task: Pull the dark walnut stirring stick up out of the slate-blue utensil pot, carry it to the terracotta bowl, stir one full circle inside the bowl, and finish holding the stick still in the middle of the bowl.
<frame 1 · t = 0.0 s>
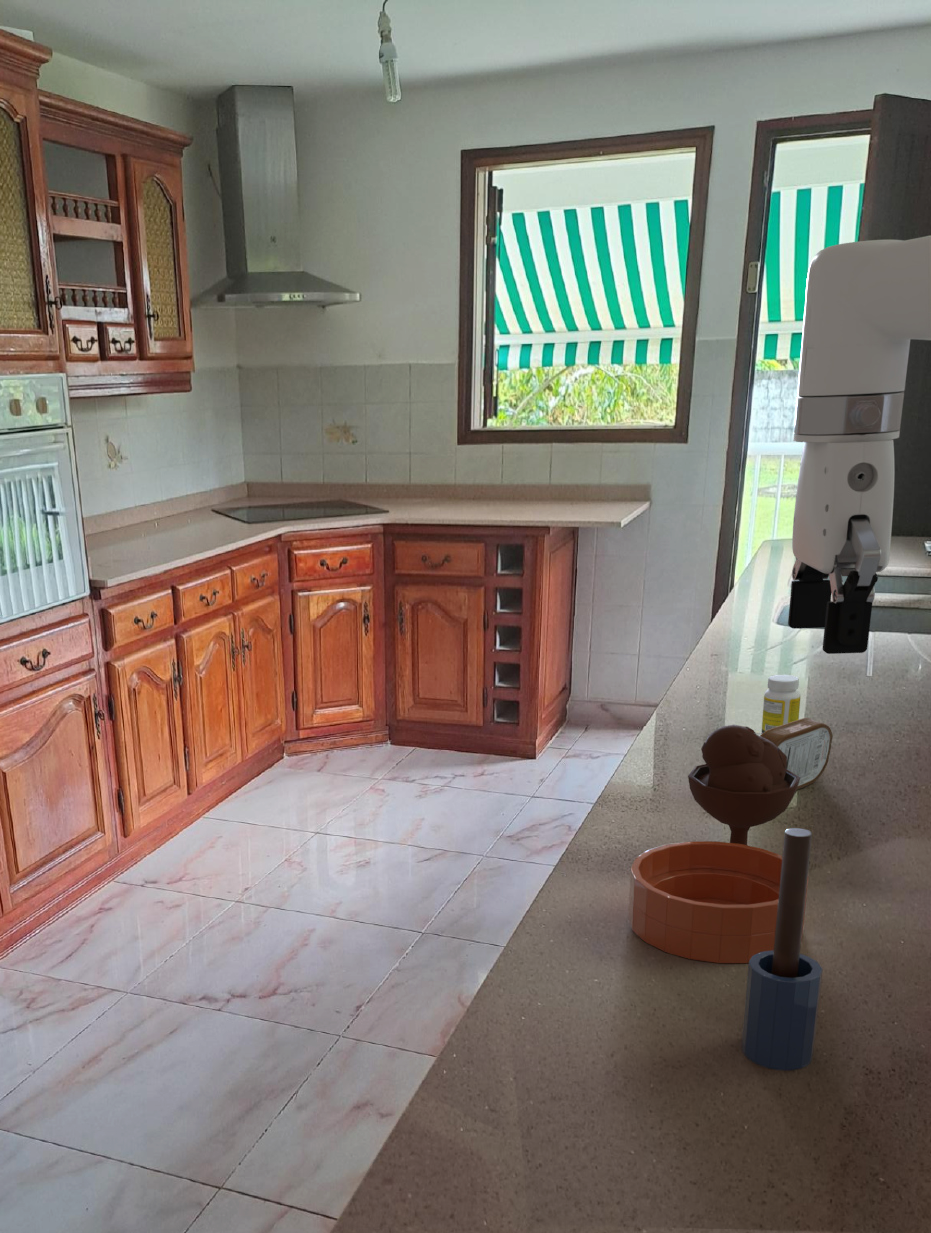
hand: (825, 639, 95), 28 cm above the counter, tool pointing down, fingers open, 9 cm apart
tin: (786, 791, 144), on the counter
ice cream bowl: (736, 861, 124), on the counter
supplement bottle: (778, 737, 164), on the counter
stirring stick: (776, 1051, 88), point 1 cm above the counter, touching utensil pot
mixing bowl: (713, 930, 109), on the counter
utensil pot: (776, 1058, 89), on the counter
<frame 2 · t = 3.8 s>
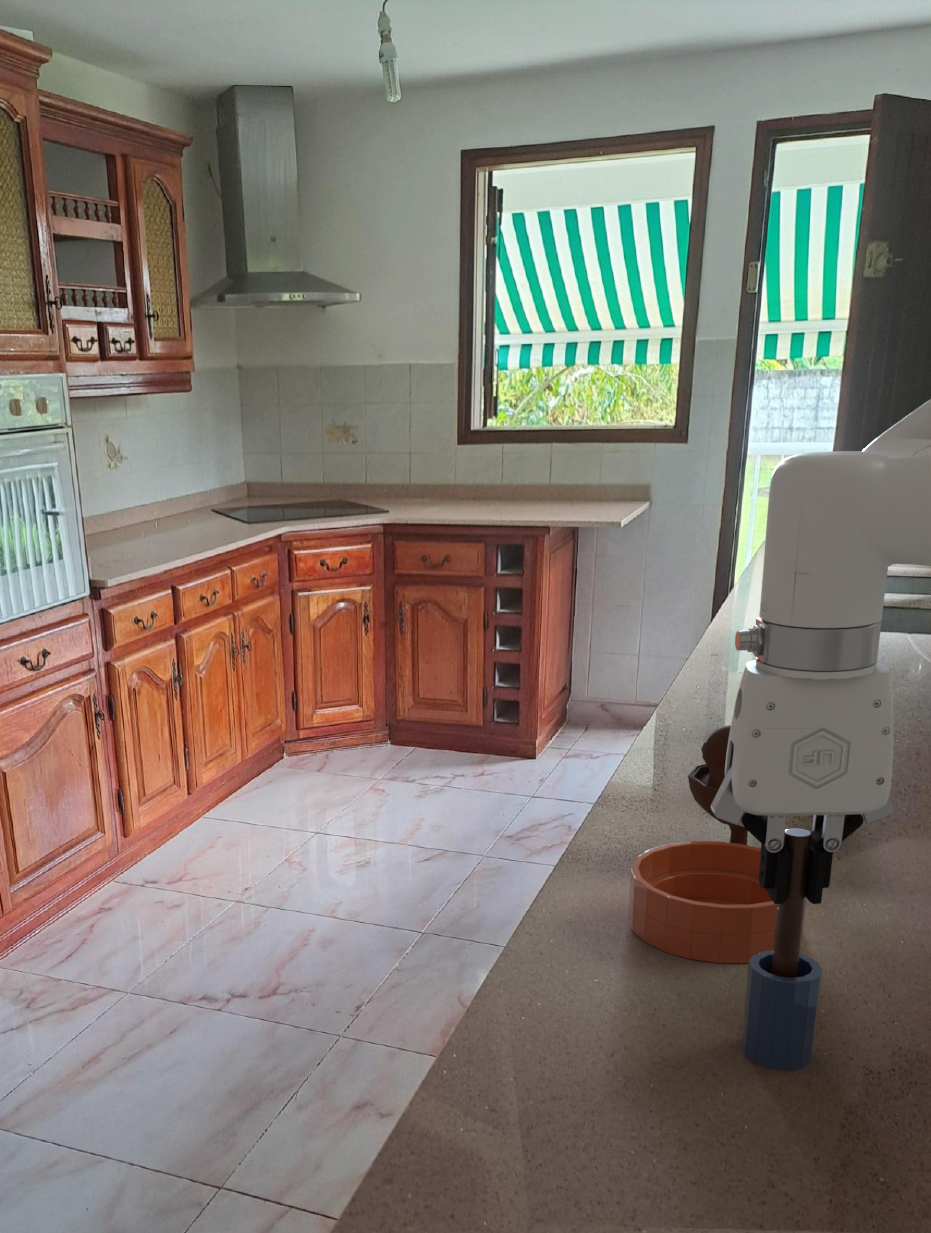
hand: (792, 894, 84), 14 cm above the counter, tool pointing down, fingers closed on stirring stick, 1 cm apart
stirring stick: (776, 1051, 88), point 1 cm above the counter, touching gripper, utensil pot
everything else where it was.
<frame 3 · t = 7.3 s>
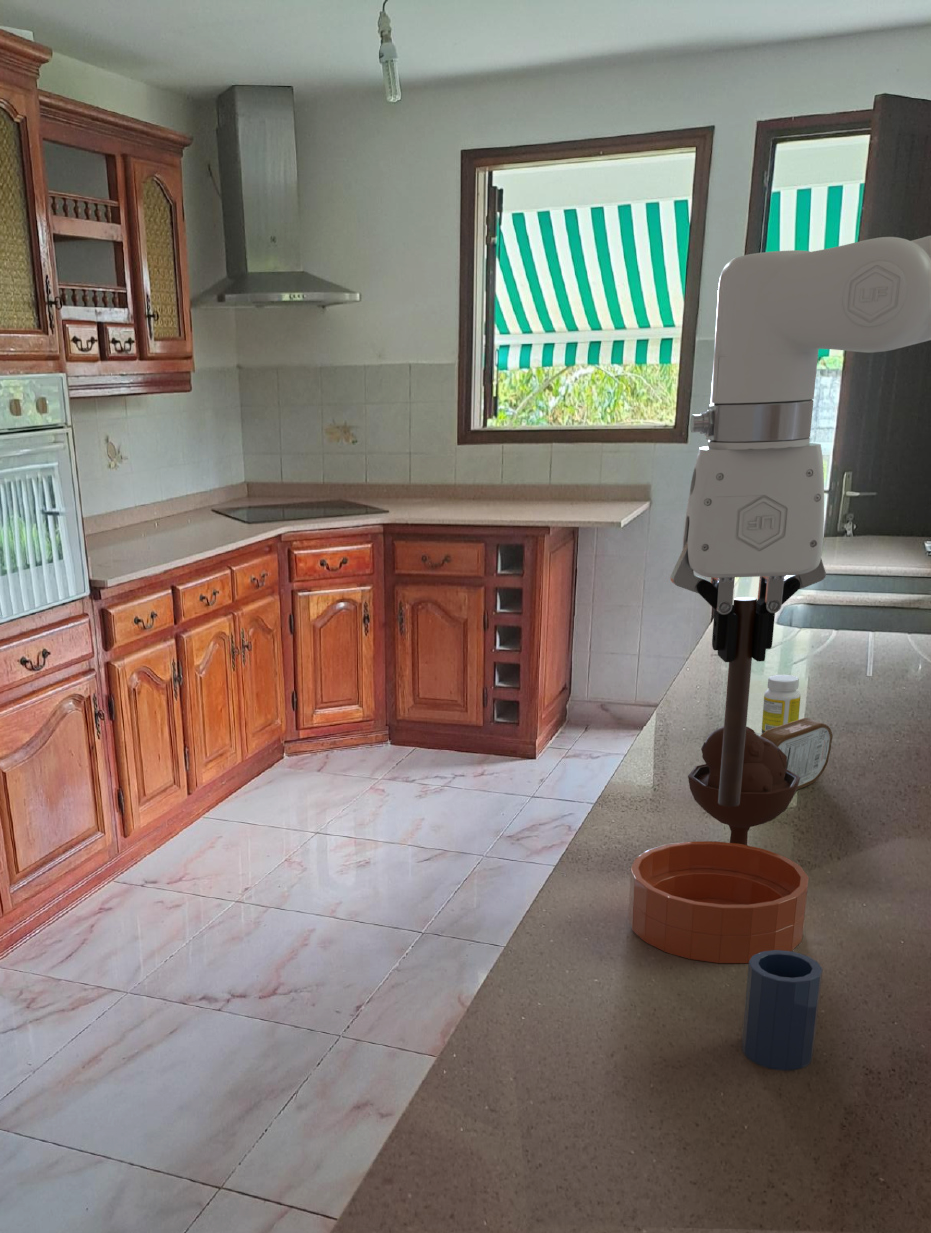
hand: (740, 656, 97), 27 cm above the counter, tool pointing down, fingers closed on stirring stick
stirring stick: (728, 803, 102), point 14 cm above the counter, touching gripper
everything else where it was.
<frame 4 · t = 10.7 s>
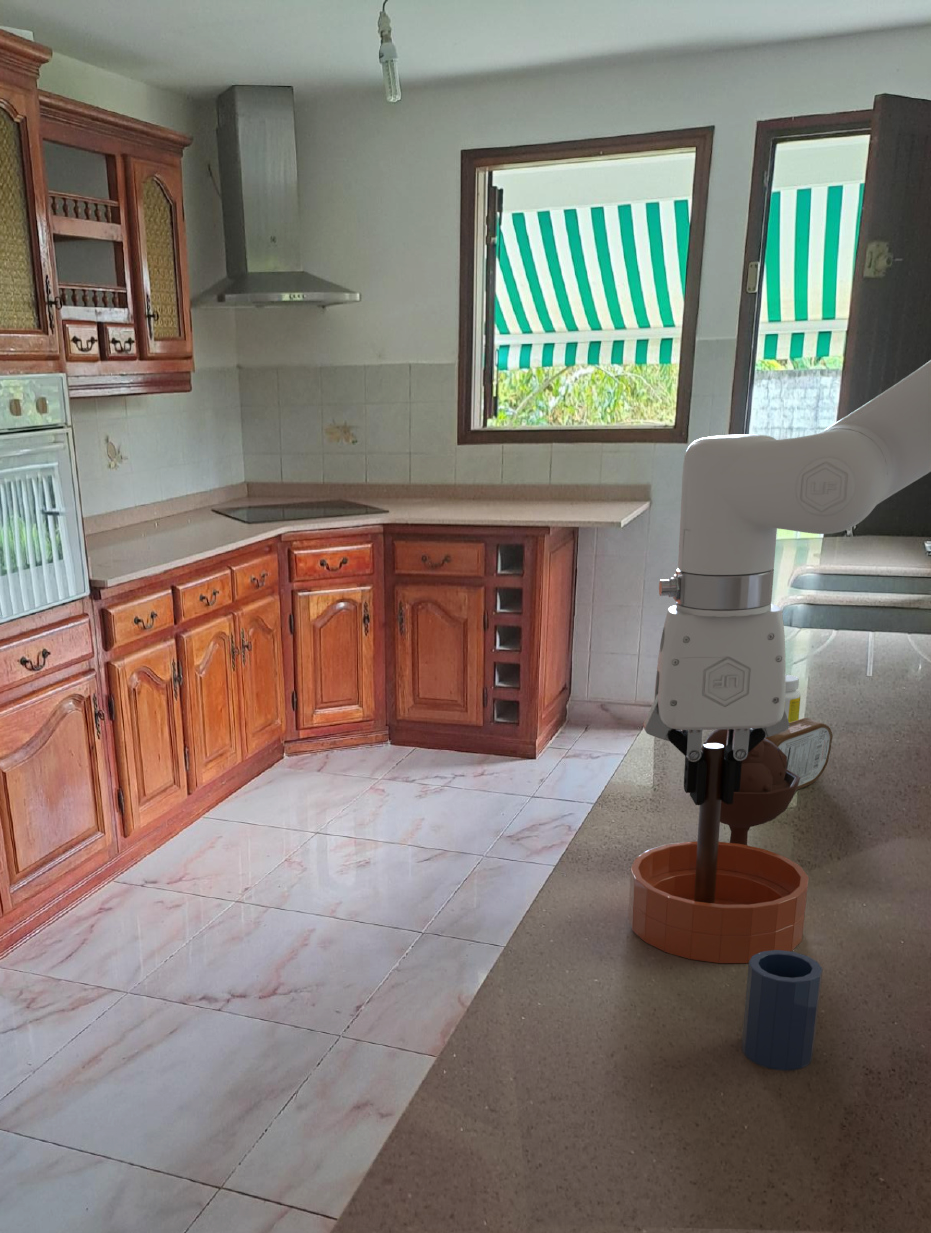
hand: (710, 798, 103), 14 cm above the counter, tool pointing down, fingers closed on stirring stick, 1 cm apart
stirring stick: (702, 931, 107), point 1 cm above the counter, touching gripper
everything else where it was.
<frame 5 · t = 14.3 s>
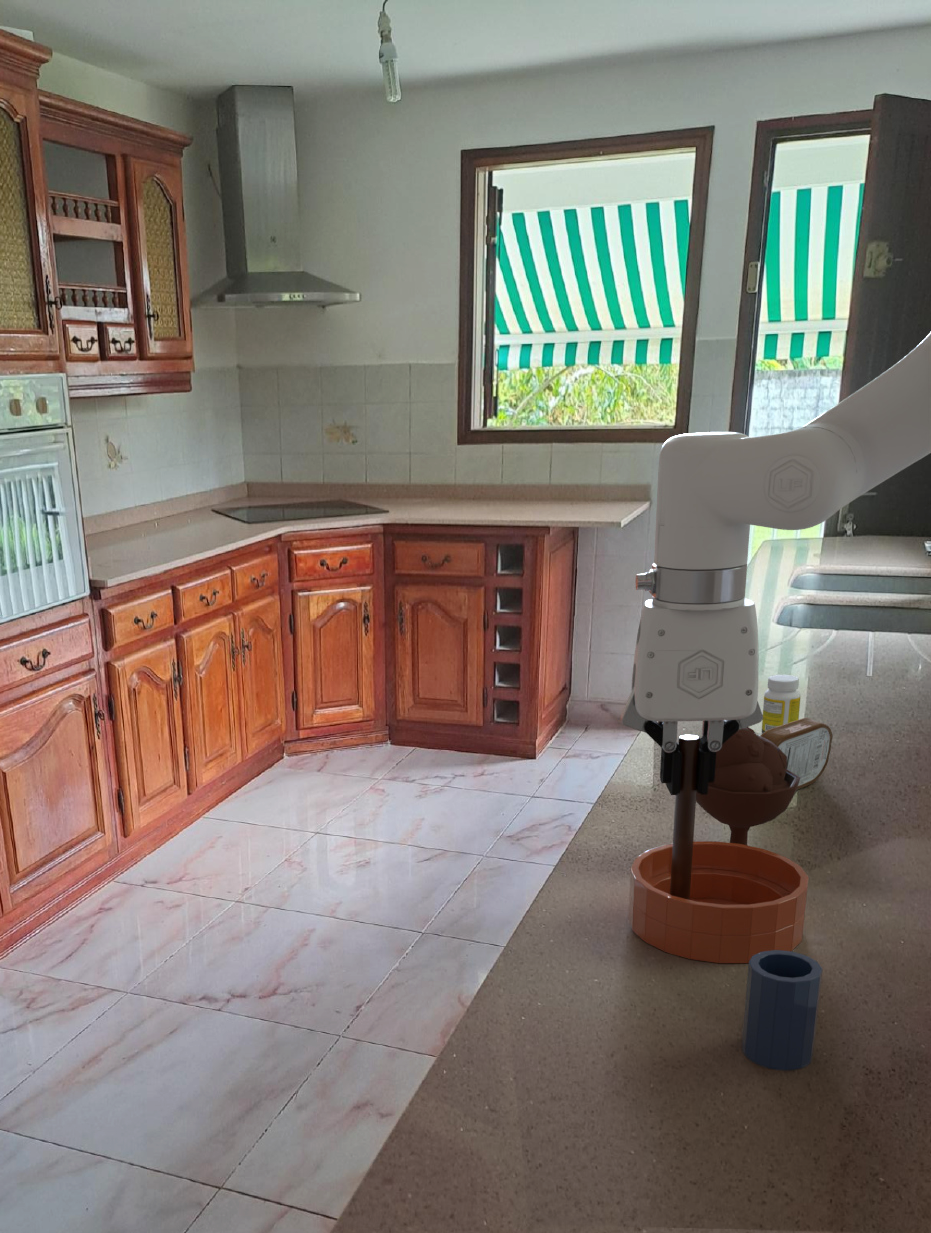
hand: (686, 788, 105), 14 cm above the counter, tool pointing down, fingers closed on stirring stick, 1 cm apart
stirring stick: (678, 920, 109), point 1 cm above the counter, touching gripper
everything else where it was.
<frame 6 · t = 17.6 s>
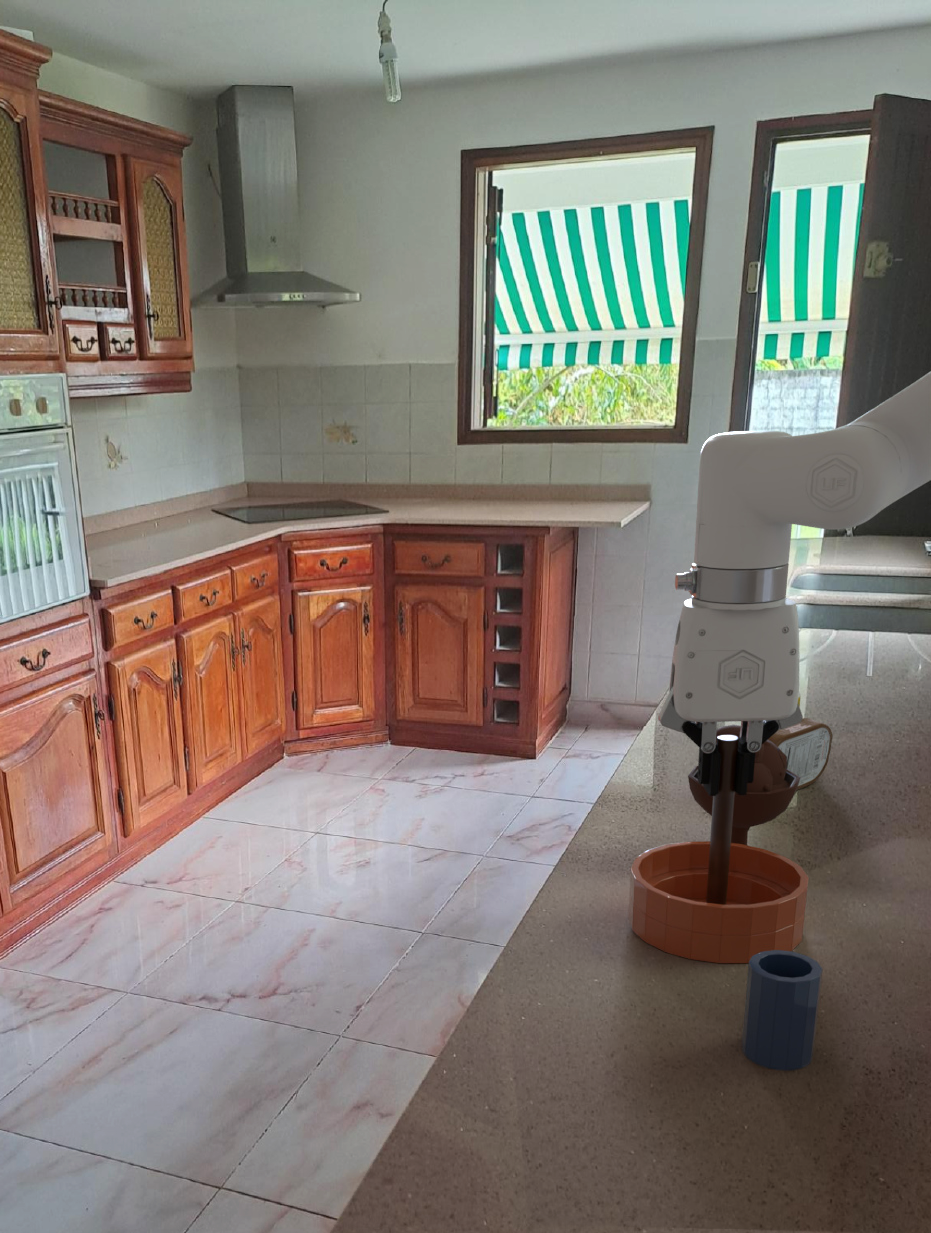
hand: (724, 789, 104), 14 cm above the counter, tool pointing down, fingers closed on stirring stick, 1 cm apart
stirring stick: (714, 921, 109), point 1 cm above the counter, touching gripper
everything else where it was.
at the end: stirring stick inside the target area in the mixing bowl (0.0 cm from its centre), point 1.0 cm above the mixing bowl's base; the gripper is holding stirring stick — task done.
